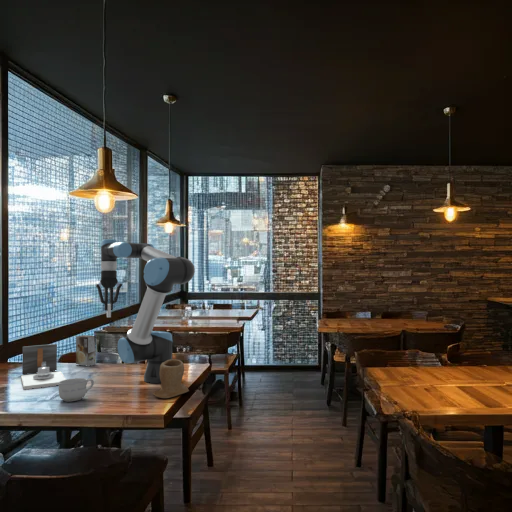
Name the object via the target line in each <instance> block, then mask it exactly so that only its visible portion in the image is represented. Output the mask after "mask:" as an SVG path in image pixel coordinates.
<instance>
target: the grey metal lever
mask: <svg viewBox="0 0 512 512" xmlns="http://www.w3.org/2000/svg"><path fill="white" fill-rule="evenodd" d="M36 374H37V375H34V376H33V379H48V378H52V377H54V374H51V373H50V372H49V367H46V362H42V366H41V367H39V368H38V373H36Z"/></svg>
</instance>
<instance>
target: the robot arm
mask: <svg viewBox="0 0 512 512" xmlns="http://www.w3.org/2000/svg"><path fill="white" fill-rule="evenodd" d="M100 244H101V246H100V255H101V256H100V262H101V263H100V266H101V267H100V270H101V271H100V280H99V282H98V283H95V287H96V289H97V291H98V296H99V301H100V303H101V304H104V311H106V318H112V311H114V304H115V303H116V304H117V302H118V299H119V294H120V290H121V288H122V286H123V283H120V282H119V281H118V271H117V269H118V265H117V264H118V262H117V261H118V258H119V259H141V260H143V261H145V262H146V264H145V266H144V269H143V279H144V282H145V286H146V287H147V288H146V290H145V293H144V296H143V298H142V301H141V304H140V307H139V309H138V312H137V315H136V318H135V321H134V323H133V326H132V328H129V329H128V331H127V333H126V335H125V337H120V338H119V339H118V341H117V353H118V356H119V358H120V360H121V361H122V362H123V363H125V364H134V363H139V362H143V361H147V365H146V369H145V370H144V375H143V381H144V382H145V383H149V382H150V383H149V384H161V380H160V375H159V372H160V365H161V364H162V363H163V362H165V361H167V360H171V359H173V343H174V341H173V334H172V333H171V332H168V331H157V330H153V329H154V327H155V324H156V321H157V320H158V316H159V314H160V311H161V308H162V306H163V305H164V304H163V303H164V301H165V298H166V296H167V294H170V293H171V292H172V290H173V288H174V286H175V285H185V284H187V283H189V282H190V281H191V280H192V279H193V278H194V275H195V272H196V270H195V265H194V263H193V262H192V261H191V260H190V259H188V258H185V257H183V256H175V255H173V254H170V253H168V252H166V251H162V250H160V249H158V248H156V247H154V245H153V244H151V243H147V242H145V243H140V242H139V243H138V242H125V241H118V240H117V239H116V238H115V239H113V238H107V239H106V238H105V239H102V240H101V243H100ZM102 287H103V289H104V290H103V291H104V293H103V292H102ZM115 287H116V289H115V293H114V288H115ZM103 294H104V296H103Z"/></svg>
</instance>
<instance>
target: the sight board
mask: <svg viewBox="0 0 512 512" xmlns="http://www.w3.org/2000/svg"><path fill="white" fill-rule="evenodd" d="M57 358H58V344H57V343H53V344H38V345H28V346H25V345H24V346H22V363H21V364H22V368H21V369H22V370H21V371H22V372H21V373H22V374H25V375H28V374H27V373H34V374H37V373H36V372H38V368H39V367H41V366H42V362H46V367H49V371H53V372H56V371H55V370H57V371H58V369H57V368H58V367H57V366H58V359H57Z"/></svg>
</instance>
